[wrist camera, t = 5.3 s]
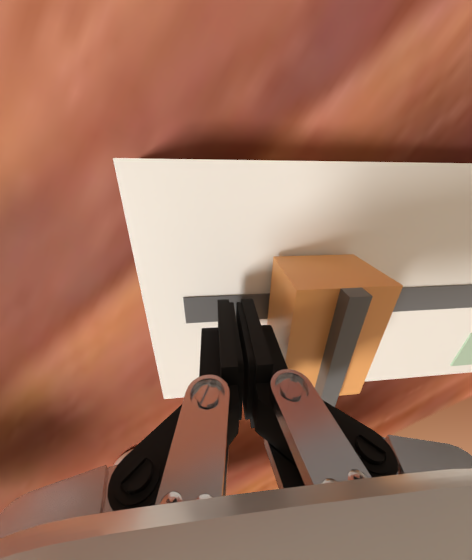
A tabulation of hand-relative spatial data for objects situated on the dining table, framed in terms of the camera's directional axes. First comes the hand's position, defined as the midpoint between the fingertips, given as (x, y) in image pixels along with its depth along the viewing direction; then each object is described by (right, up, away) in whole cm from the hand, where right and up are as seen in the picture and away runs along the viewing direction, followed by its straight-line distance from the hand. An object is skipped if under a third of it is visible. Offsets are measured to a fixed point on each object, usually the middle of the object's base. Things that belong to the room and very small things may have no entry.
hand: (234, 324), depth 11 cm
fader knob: (+4, +1, +1) cm, 4 cm away
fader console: (+8, +2, +5) cm, 10 cm away
